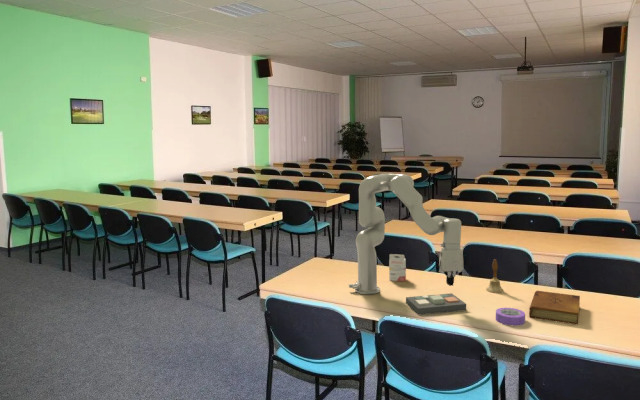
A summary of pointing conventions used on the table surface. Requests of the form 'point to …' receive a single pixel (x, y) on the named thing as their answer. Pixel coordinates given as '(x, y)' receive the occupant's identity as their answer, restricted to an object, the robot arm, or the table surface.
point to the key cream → (422, 302)
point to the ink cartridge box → (397, 268)
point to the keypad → (435, 305)
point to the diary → (555, 307)
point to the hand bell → (494, 280)
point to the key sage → (436, 299)
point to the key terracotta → (451, 299)
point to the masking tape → (510, 316)
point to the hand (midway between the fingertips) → (449, 284)
